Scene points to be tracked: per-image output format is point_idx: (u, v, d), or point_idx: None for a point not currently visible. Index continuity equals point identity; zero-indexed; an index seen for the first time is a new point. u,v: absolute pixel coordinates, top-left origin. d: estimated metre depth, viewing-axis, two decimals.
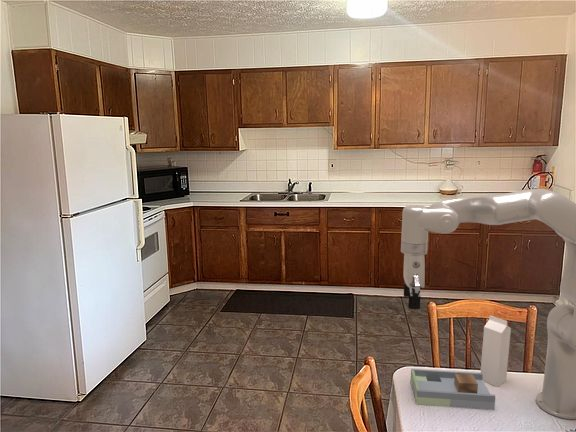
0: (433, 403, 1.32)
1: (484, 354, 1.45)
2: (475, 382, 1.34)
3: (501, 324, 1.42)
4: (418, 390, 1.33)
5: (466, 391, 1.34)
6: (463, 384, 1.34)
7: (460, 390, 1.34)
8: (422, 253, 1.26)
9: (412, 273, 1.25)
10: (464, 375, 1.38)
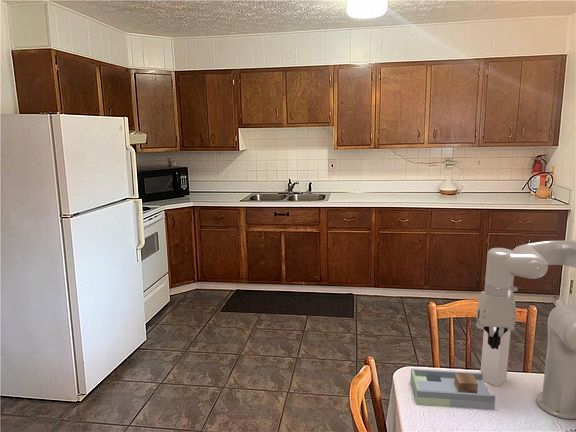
0: (433, 403, 1.32)
1: (484, 354, 1.45)
2: (475, 382, 1.34)
3: None
4: (418, 390, 1.33)
5: (466, 391, 1.34)
6: (463, 384, 1.34)
7: (460, 390, 1.34)
8: None
9: None
10: (464, 375, 1.38)
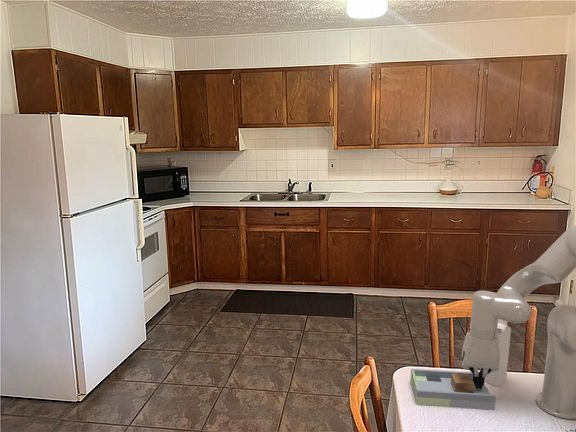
0: (433, 403, 1.32)
1: None
2: (471, 382, 1.34)
3: (501, 324, 1.42)
4: (418, 390, 1.33)
5: (462, 391, 1.34)
6: (459, 384, 1.34)
7: (456, 390, 1.35)
8: None
9: None
10: (461, 375, 1.38)
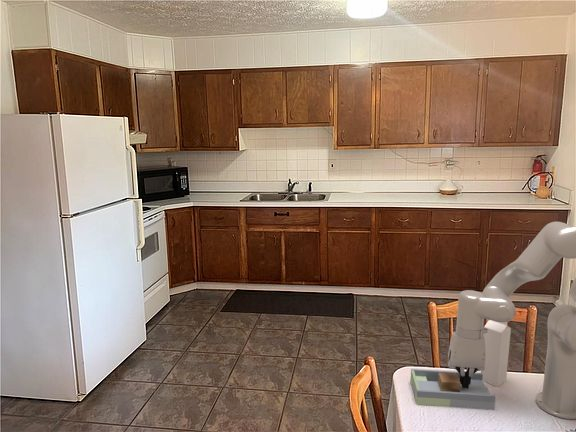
0: (433, 403, 1.32)
1: None
2: (458, 381, 1.35)
3: (501, 324, 1.42)
4: (418, 390, 1.33)
5: (449, 390, 1.35)
6: (446, 383, 1.35)
7: (443, 389, 1.35)
8: None
9: None
10: (448, 374, 1.39)
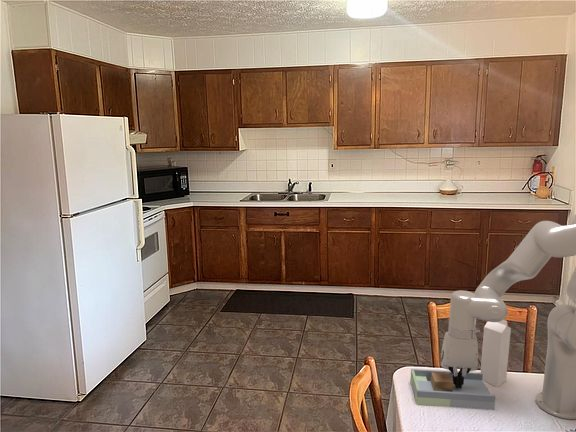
0: (433, 403, 1.32)
1: (484, 354, 1.45)
2: (451, 381, 1.35)
3: (501, 324, 1.42)
4: (418, 390, 1.33)
5: (442, 389, 1.35)
6: (438, 383, 1.35)
7: (436, 388, 1.35)
8: None
9: (477, 353, 1.33)
10: (440, 374, 1.39)
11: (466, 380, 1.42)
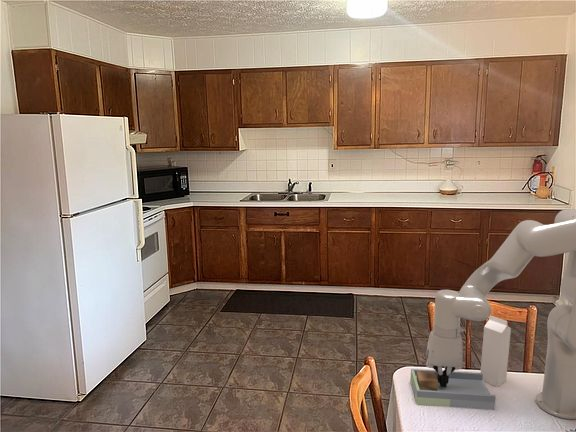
0: (433, 403, 1.32)
1: (484, 354, 1.45)
2: (435, 380, 1.36)
3: (501, 324, 1.42)
4: (418, 390, 1.33)
5: (426, 388, 1.36)
6: (423, 382, 1.35)
7: (421, 387, 1.36)
8: None
9: None
10: (426, 373, 1.39)
11: (466, 380, 1.42)
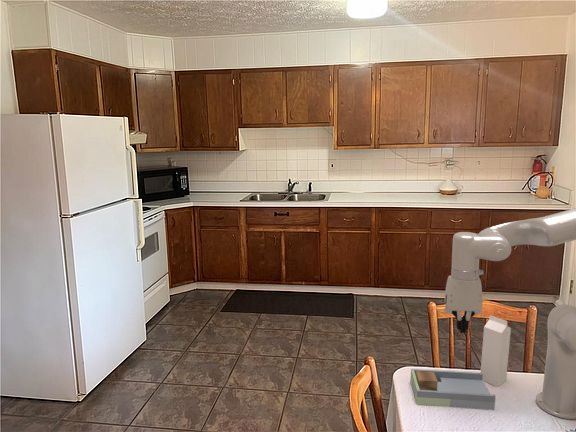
0: (433, 403, 1.32)
1: (484, 354, 1.45)
2: (435, 379, 1.36)
3: (501, 324, 1.42)
4: (418, 390, 1.33)
5: (426, 388, 1.36)
6: (423, 382, 1.35)
7: (420, 387, 1.36)
8: None
9: (481, 295, 1.30)
10: (425, 373, 1.39)
11: (466, 380, 1.42)
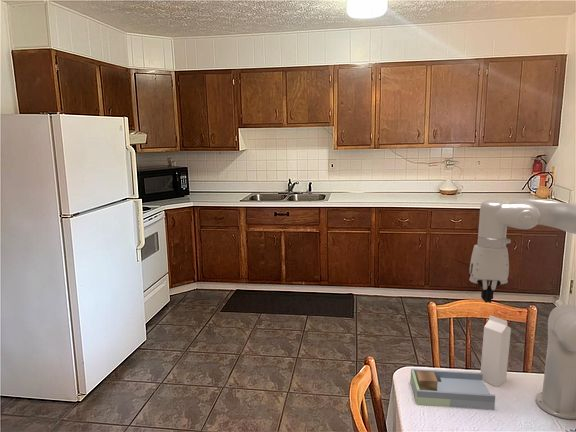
0: (433, 403, 1.32)
1: (484, 354, 1.45)
2: (435, 379, 1.36)
3: (501, 324, 1.42)
4: (418, 390, 1.33)
5: (426, 388, 1.36)
6: (423, 382, 1.35)
7: (420, 387, 1.36)
8: None
9: None
10: (425, 373, 1.39)
11: (466, 380, 1.42)
